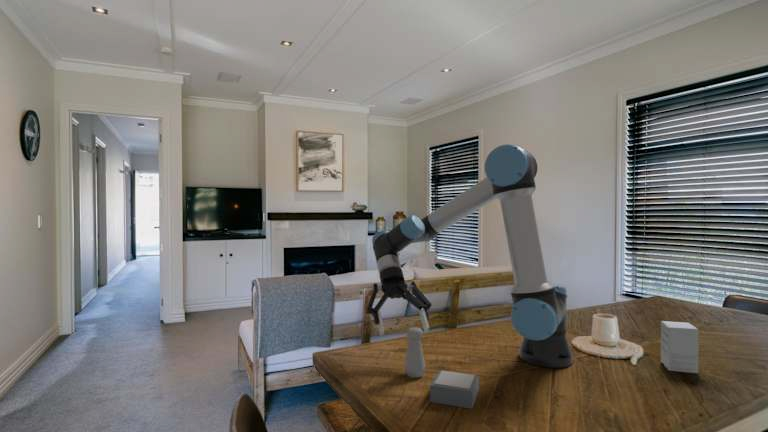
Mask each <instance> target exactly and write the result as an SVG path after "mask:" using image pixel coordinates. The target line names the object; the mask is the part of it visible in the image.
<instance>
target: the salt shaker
mask: <svg viewBox="0 0 768 432" xmlns="http://www.w3.org/2000/svg"><path fill="white" fill-rule="evenodd" d="M423 334H424V333H423V329H421V328H420V327H416V326H415V327H410V328H408V329H407V331H406V336H407V338H408V342H407V349H406V354H405V360H404V364H403V369H404V371H405V373H406V376H408V377H409V378H412V379H419V378H421V377H423V375H424V372H425V370H426V364H425V363H426V362H425V357H424V352H423V347H422V341H421V338H423Z"/></svg>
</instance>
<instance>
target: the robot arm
mask: <svg viewBox="0 0 768 432" xmlns="http://www.w3.org/2000/svg"><path fill="white" fill-rule="evenodd" d="M537 173H538V161H537V160H536V158H535V157H534V155H533V154H532V153H531V152H529V151H528V150H525V149H523V148H522V147H521V146H519V145H516V144H509V143H508V144H502V145H499V146H497V147H495V148H493V149H492V150H491V151H490V152H489V154H488V155H487V156H486V159H485V161H484V174H485V175H486V177H485V178H483V179H481V180H480V181H479V182H477V183H475V184H473V186H471V187H469V188H467V189H466V190H464V191H463V192H461V193H460V194H459V195H457V196H454V197H453V198H452V199H451V200H449V201H448V202H445V203H444V204H443V205H441V206H440V207H438V208H436V209H435V210H434V211H433V210H432V211H431V213H429V214H428V215H426V216H424V217H422V218H419V217H418V216H416V215H414V214H411V215H409V216H407V217H406V218H404V219H402V221H401V222H400V223H399V222H398V224H397V225H396V226H394V227H393V228H392V229H391V230H385V229H383V230H380V231H377V232H375V233H374V234H373V236H372V237H371V238H372V239H371V242H372V250H373V253H374V256H375V261H376V266H377V269H378V270H377V271H378V274H379V280H380V283H381V284H380V285H379V284H378V283H373V286H372V294H371V297H370V299H369V302H368V305H367V307H366V311H365V314H367V315H371V316H372V318H373V322H374V325H378V326H377V327H378V331H379V337H383V336H384V334H385V332H386V331H385V327H384V323H383V317H382V313H381V308H382V307H383V306H384V304H385V302H386V301H387V300H388V298H390V299H391V300H392V299H403V300H406V301H407V302H408V303H410V304H411V305H413V306H414V307H415V308H416V309H417V310H419V312H418V313H419V317H420V321H421V325H422V328H423V331H424V333H428V331H429V330H430V325H429V321H428V320H429V319H430V315H429V312H428V311H429V310H431V307H432V302H431V301H430V300H429V299H428V298H427V296H425V295H424V294H423V292H422V291H421V290H420V289H419V288H418V286H417V284H416V282H415V281H412V282H411V283H406V281H405V277H404V276H405V275H404V272H403V270H402V266H401V262H400V257H399V253H400V252H401V251H403V250H404V249H405V248H407V247H409V246H410V245H411V244H414V243H415V244H416V243H424V242H429V241H432V240H434V239H435V238H436V237H437V235H439V234H440V233H442V232H443V231H445V230H447V229H448V228H451V226H453V225H455V224H457V223H459V222H460V221H461V220H464V219H465V218H467V217H468V216H470V215H472V214H473V213H475V212H477V211H479V210H480V209H481V208H483V207H485V206H486V205H488V204H490V203H492V202H493V201H494V200H496V199H497V200H499V202H500V206H501V212H502V217H503V223H504V230H505V236H506V240H507V246H508V247H507V248H508V252H509V253H508V254H509V258H510V263H511V268H512V269H511V270H512V275H513V281H514V285H513V286H512V287H511V290H510V295H511V301H512V308H511V312H510V320H511V325H512V326H513V328H514V329H515V331H516V332H517V334H519V335H520V336H522V337H523V338H522V341H521V344H520V347H519V358H520V359H521V360H522V361H524V362H525V363H528V364H531V365H534V366H537V367H544V368H550V369H551V368H552V369H554V368H556V369H560V368H566V367H570V366H571V365H572V364H573V363H574V362H573V360H574V359H573V357H574V356H573V352H572V349H571V346H570V343H569V340H568V337H567V298H568V295H567V288H566V287H565V286H563V285H561V284H552V283H551V282H550V281H548V279H547V274H546V273H547V272H546V267H545V263H544V257H543V251H542V245H541V240H540V234H539V230H538V225H537V219H536V213H535V209H534V202H533V197H532V196H533V193H534V192H535V191H536V189H537V187H536V181H535V178H536V176H537ZM380 291H381V292H382V293H383V294H382V296H381V298H380V299H379V301H378V302H377V304H376V305H375V307H374V308H373V306H374V302H375V300H376V297H377V294H378V293H379V292H380Z"/></svg>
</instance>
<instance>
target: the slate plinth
mask: <svg viewBox="0 0 768 432" xmlns="http://www.w3.org/2000/svg"><path fill="white" fill-rule="evenodd" d="M479 378H480V377H479V375H478V374H477V375H476V374H471V373H465V372H458V371H456V372H455V371H450V370H449V371H448V370H443V369H442V370H441V369H439V370H438V372H437V373H436V375H435V376H434V378H433V380H432V382H431V383H430V384H429V402H431V403H434V404H435V403H436V404H441V405H448V406H453V407H459V408H463V409H464V408H466V409H469V410H470V409H473V408H474V405H475V403H476V400H477V397H478V394H479V385H480V384H479V383H480V381H479Z"/></svg>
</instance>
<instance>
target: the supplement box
mask: <svg viewBox="0 0 768 432" xmlns="http://www.w3.org/2000/svg"><path fill="white" fill-rule="evenodd" d="M699 330H700V329H698V328H697V327H696V326H695V325H693V324H691V323H690V322H683V321H682V322H681V321H668V320H666V321H665V320H661V321H660V362H661V364H662V363H663V364H664V365H663V364H662V365H663V366H664V367H665V368H666V369H667V371H669V372H679V373H680V372H681V373H688V374H689V373H690V374H699Z"/></svg>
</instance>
